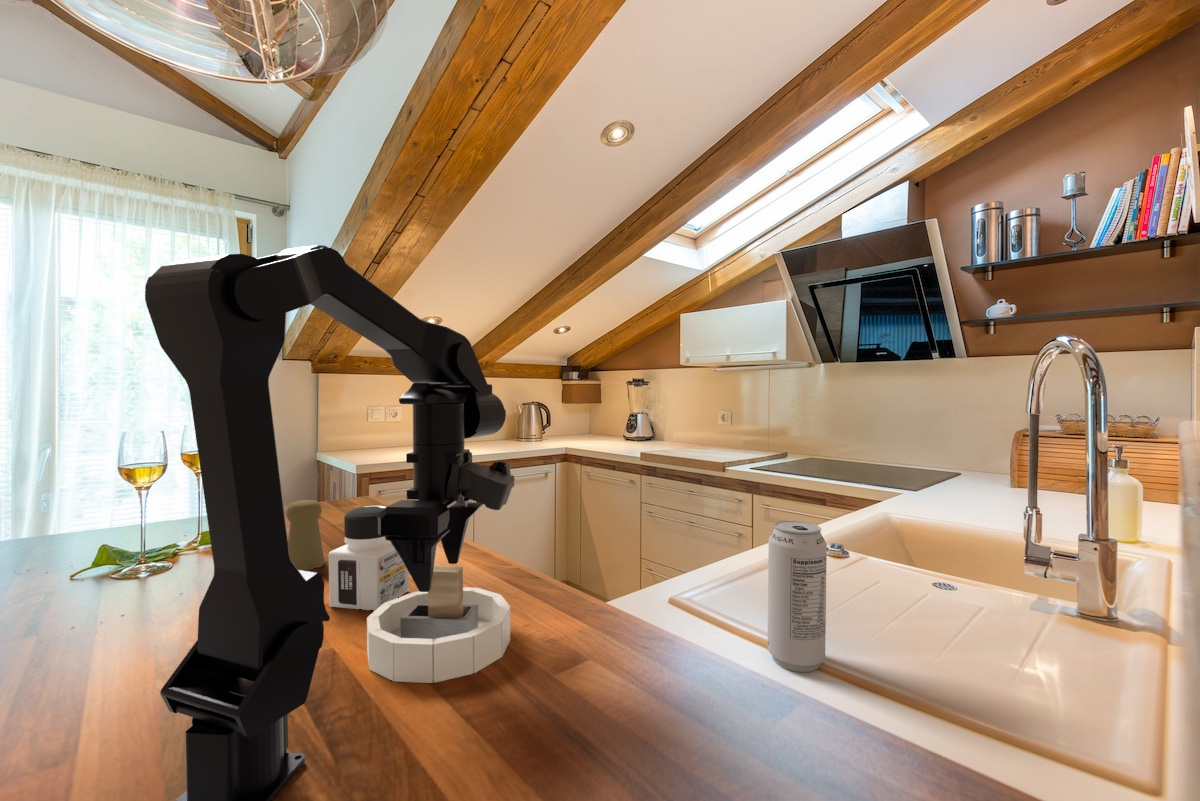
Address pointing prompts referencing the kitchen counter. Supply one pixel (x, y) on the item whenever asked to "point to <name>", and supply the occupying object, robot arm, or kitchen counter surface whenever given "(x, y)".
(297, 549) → the cork
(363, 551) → the container
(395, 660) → the white faceted bowl
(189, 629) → the kitchen counter surface
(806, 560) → the energy drink can
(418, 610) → the open rectangular box
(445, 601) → the wooden block
